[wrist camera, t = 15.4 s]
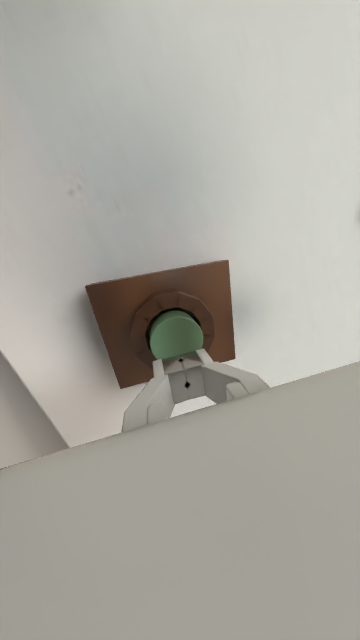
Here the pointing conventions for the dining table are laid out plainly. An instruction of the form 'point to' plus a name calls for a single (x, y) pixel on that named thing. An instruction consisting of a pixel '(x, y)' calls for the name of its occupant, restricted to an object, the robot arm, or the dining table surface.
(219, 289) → the button block
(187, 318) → the light button
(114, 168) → the dining table surface
